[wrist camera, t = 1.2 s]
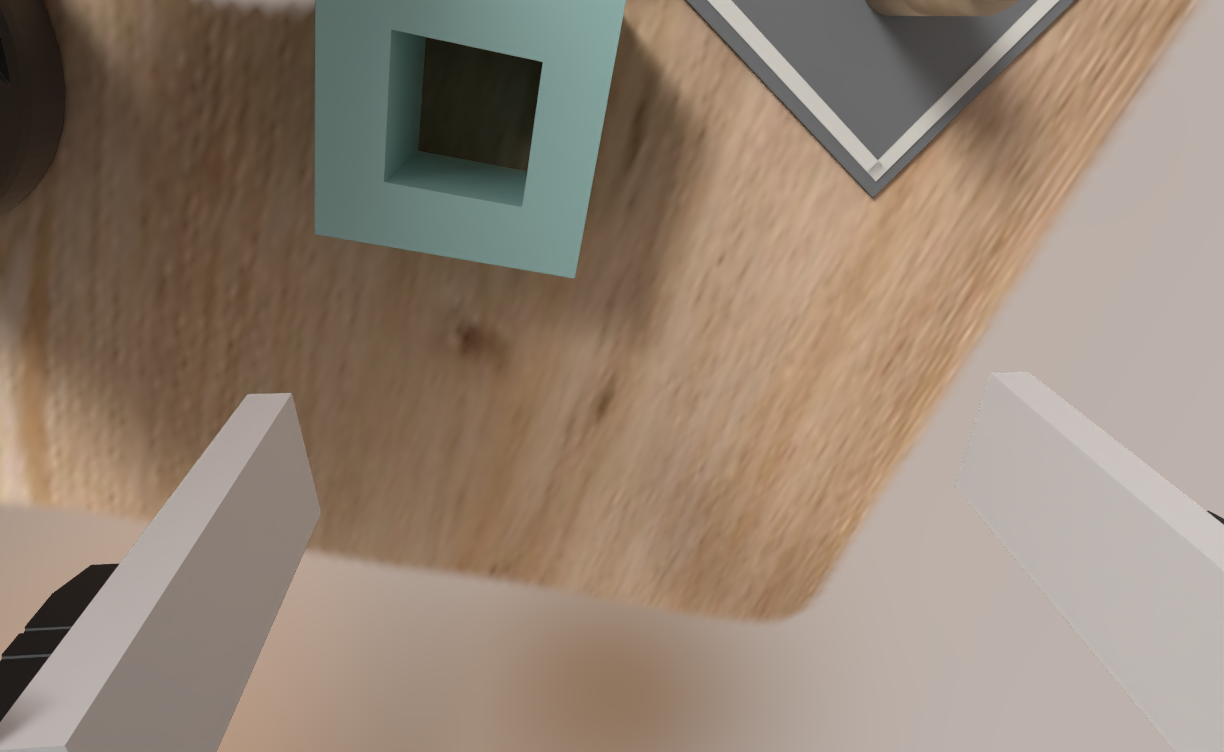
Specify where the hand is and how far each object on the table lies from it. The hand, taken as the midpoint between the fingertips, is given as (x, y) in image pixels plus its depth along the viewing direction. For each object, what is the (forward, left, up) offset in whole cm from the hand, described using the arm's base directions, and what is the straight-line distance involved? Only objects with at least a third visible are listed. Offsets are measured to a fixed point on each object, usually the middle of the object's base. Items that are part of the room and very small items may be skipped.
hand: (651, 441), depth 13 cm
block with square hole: (-6, 0, -19) cm, 20 cm away
